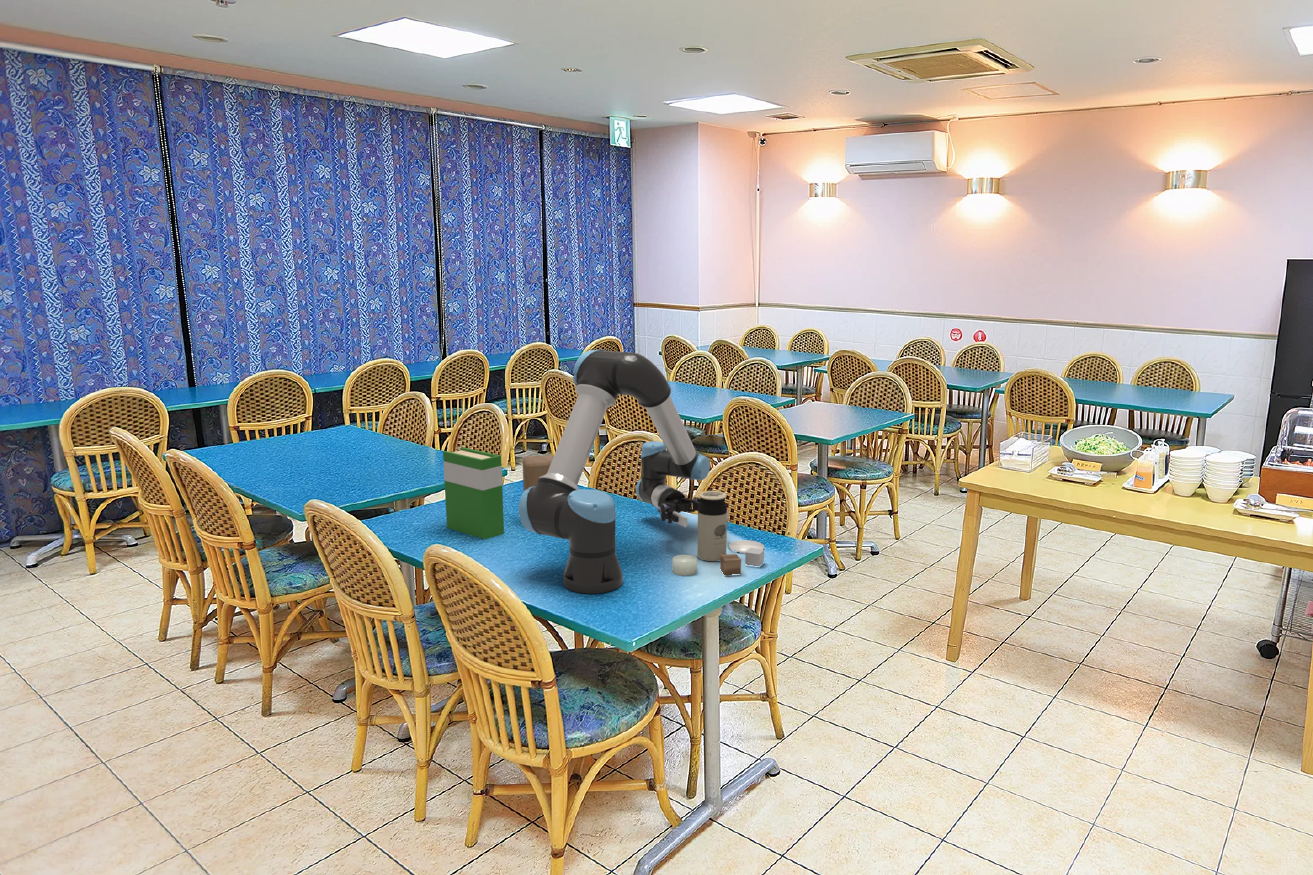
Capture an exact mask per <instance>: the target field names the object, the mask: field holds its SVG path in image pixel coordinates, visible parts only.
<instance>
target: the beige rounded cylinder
mask: <svg viewBox="0 0 1313 875" xmlns="http://www.w3.org/2000/svg"><path fill="white" fill-rule="evenodd" d="M697 572H698V557H696V556H694V555H691V554H679V555H675V556H673V557H672V573H673V574H674V575H676V576H681V577H682V576H684V577H686V576H687V575H690V576H694V575H695V574H697ZM687 577H688V576H687Z"/></svg>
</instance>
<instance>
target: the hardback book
mask: <svg viewBox="0 0 1313 875" xmlns="http://www.w3.org/2000/svg"><path fill="white" fill-rule="evenodd" d="M459 448H460V450H456V451H452V452H451V451H447V450H444V451H442V455H443V456H442V457H443V458H442V460H443V478H444V497H445V498H444V500H445V515H446V528H447V529H449V530H453V531H455V532H459V533H462V532H463V533H462V534H465V533H466V535H467V536H468V535H469V536H471V535H472V536H471V537H474V536H475V537H474V538H477V537H480V538H479V539H481V538H482V539H481V540H484V539H486V540H488V539H487V538H489V539H491V538H490V537H492V538H494V537H497V536H500V535H501V536H502V535H504V534H505V521H504V520H505V519H504V494H503V472H502V471H503V468H502V455H499V454H495V453H491V452H488V451H487V452H486V451H482V450H477V449H472V448H468V447H463V446H461V447H459Z"/></svg>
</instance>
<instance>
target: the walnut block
mask: <svg viewBox="0 0 1313 875" xmlns="http://www.w3.org/2000/svg"><path fill="white" fill-rule="evenodd" d="M719 565H720V566H719V570H720V569H721V571H722V572H723V574H724V575H732V574H742V572H741V571H742V559H741V557H739V555H738V553H731V554H730V553H729V554H727V553H726V555H720V561H719ZM721 571H720V572H721ZM722 572H721V573H722ZM723 574H722V575H723ZM724 575H723V576H724Z"/></svg>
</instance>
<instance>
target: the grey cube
mask: <svg viewBox="0 0 1313 875" xmlns="http://www.w3.org/2000/svg"><path fill="white" fill-rule="evenodd" d="M744 556H745V557H744V558H745V560H744V561H745V562H744V563H745V564H747V565H753V566H760V565H761V564H763V562H764V563H765V549H764V550H762V549H755V548H749V549H748V550H747V551H746V552H745V554H744ZM745 564H744V565H745ZM763 565H764V564H763Z"/></svg>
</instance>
